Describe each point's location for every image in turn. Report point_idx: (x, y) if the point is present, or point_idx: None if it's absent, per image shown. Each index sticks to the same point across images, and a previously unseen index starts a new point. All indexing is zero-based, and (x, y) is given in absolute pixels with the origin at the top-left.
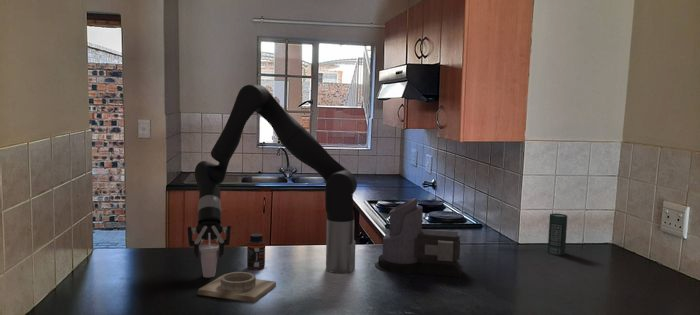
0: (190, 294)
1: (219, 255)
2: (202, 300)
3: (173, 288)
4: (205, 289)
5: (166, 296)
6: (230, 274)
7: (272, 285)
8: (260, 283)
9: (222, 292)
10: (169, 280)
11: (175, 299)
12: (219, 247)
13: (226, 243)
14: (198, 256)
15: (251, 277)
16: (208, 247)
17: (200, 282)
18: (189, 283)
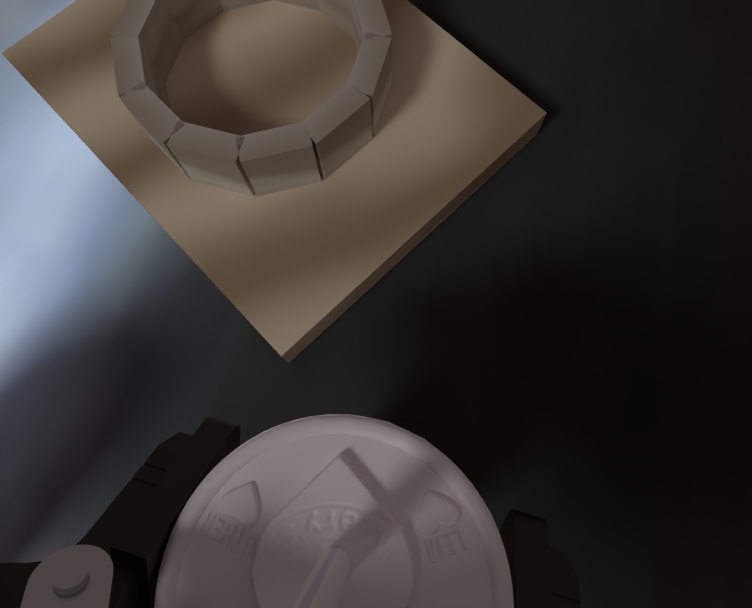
0: (583, 159)
1: (237, 442)
2: (528, 36)
3: (690, 327)
4: (498, 92)
5: (744, 186)
6: (275, 131)
7: (57, 24)
8: (112, 59)
9: (406, 2)
10: (714, 554)
11: (688, 112)
12: (185, 494)
13: (9, 579)
14: (502, 529)
15: (146, 51)
16: (371, 489)
17: (469, 378)
18: (557, 392)
